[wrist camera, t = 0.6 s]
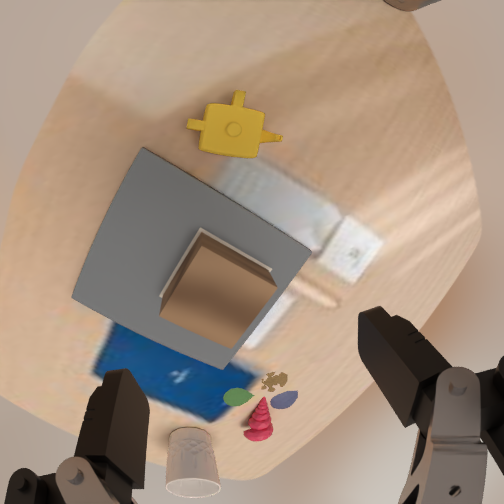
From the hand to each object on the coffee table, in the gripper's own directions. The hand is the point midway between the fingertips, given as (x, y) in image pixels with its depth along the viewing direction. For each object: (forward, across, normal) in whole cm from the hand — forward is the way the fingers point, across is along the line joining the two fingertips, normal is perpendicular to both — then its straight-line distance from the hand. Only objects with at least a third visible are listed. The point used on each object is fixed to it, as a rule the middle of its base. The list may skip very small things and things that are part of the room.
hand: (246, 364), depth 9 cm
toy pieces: (+22, 0, +28) cm, 35 cm away
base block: (+20, +2, +7) cm, 22 cm away
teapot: (+22, -3, -8) cm, 23 cm away
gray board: (+21, +5, +6) cm, 22 cm away
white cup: (+21, +14, +34) cm, 42 cm away
